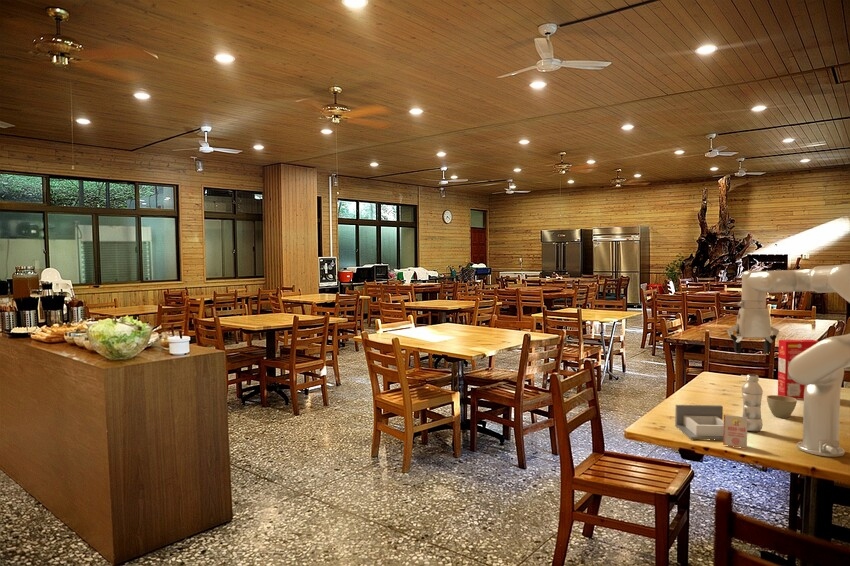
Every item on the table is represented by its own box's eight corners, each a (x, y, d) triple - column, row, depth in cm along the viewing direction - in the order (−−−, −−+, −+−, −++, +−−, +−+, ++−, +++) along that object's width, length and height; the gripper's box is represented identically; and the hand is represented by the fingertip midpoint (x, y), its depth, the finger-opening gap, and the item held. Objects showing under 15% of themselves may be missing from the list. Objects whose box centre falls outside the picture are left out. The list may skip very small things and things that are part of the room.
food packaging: (811, 395, 255) (812, 339, 254) (819, 398, 249) (820, 341, 248) (777, 395, 255) (778, 339, 254) (784, 398, 250) (786, 341, 249)
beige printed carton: (723, 442, 192) (724, 413, 192) (746, 445, 189) (747, 415, 188) (723, 446, 189) (723, 416, 188) (746, 449, 186) (747, 418, 185)
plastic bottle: (765, 434, 201) (766, 377, 200) (744, 433, 202) (745, 377, 201) (758, 428, 207) (759, 373, 206) (738, 427, 208) (739, 373, 208)
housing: (740, 441, 194) (740, 417, 193) (691, 440, 195) (691, 416, 195) (720, 427, 209) (720, 405, 209) (675, 426, 211) (675, 404, 211)
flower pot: (782, 420, 216) (782, 402, 216) (760, 414, 226) (760, 396, 226) (802, 418, 219) (803, 400, 219) (780, 412, 229) (780, 394, 228)
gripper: (732, 306, 200) (731, 354, 201) (784, 306, 198) (783, 355, 199) (723, 304, 207) (722, 351, 208) (773, 304, 206) (772, 351, 207)
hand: (752, 353), depth 204 cm, fingers open, 9 cm apart
